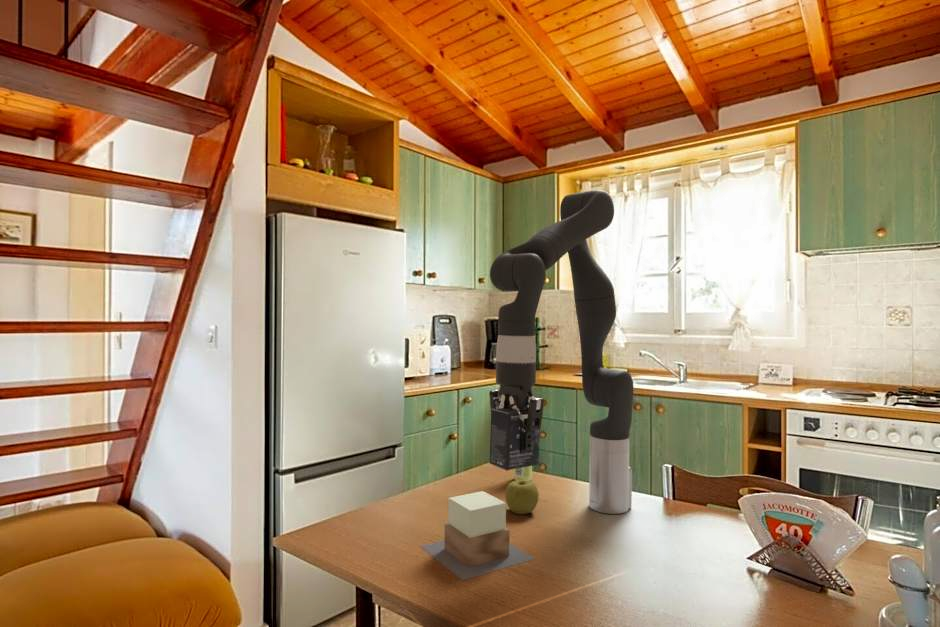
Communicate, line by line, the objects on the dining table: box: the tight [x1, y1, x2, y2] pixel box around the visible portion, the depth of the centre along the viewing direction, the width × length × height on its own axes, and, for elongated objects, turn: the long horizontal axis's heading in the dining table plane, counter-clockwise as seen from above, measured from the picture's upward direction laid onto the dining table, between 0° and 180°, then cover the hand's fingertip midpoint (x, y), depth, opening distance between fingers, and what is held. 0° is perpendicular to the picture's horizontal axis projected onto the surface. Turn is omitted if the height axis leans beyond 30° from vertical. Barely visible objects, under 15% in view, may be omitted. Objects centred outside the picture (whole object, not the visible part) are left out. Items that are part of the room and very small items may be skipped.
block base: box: [444, 522, 510, 567], centre depth 106 cm, size 9×9×5 cm
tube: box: [513, 466, 533, 482], centre depth 153 cm, size 6×5×20 cm
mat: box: [420, 539, 536, 581], centre depth 106 cm, size 16×16×1 cm
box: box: [489, 408, 541, 472], centre depth 104 cm, size 8×6×11 cm
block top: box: [447, 490, 507, 538], centre depth 106 cm, size 8×8×5 cm
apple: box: [504, 480, 539, 515], centre depth 128 cm, size 8×8×7 cm
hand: (514, 448), depth 104 cm, fingers closed on box, 5 cm apart
